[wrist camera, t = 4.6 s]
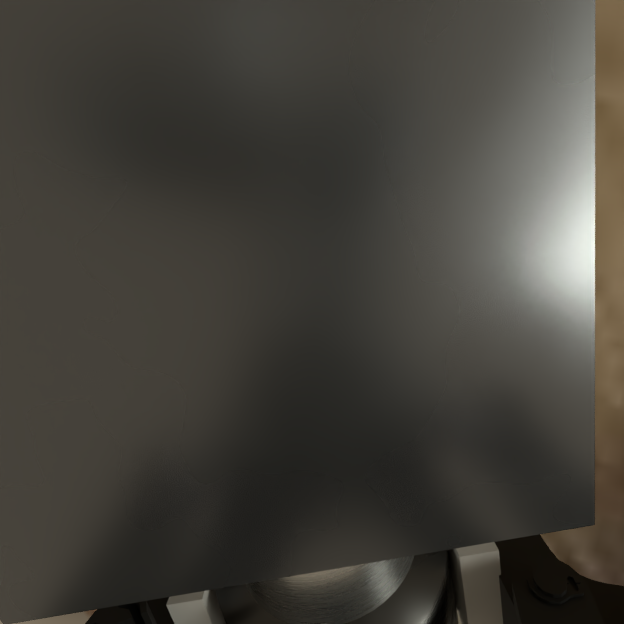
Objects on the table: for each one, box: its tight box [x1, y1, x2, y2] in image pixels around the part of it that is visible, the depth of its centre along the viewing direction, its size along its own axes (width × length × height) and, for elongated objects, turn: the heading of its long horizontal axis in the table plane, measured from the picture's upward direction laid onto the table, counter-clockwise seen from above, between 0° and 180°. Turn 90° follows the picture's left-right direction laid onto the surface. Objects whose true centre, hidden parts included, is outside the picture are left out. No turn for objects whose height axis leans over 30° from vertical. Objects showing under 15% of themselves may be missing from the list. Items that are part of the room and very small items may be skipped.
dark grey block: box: [0, 0, 595, 624], centre depth 8 cm, size 11×9×10 cm
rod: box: [215, 550, 458, 624], centre depth 8 cm, size 16×5×5 cm, turn 12°
